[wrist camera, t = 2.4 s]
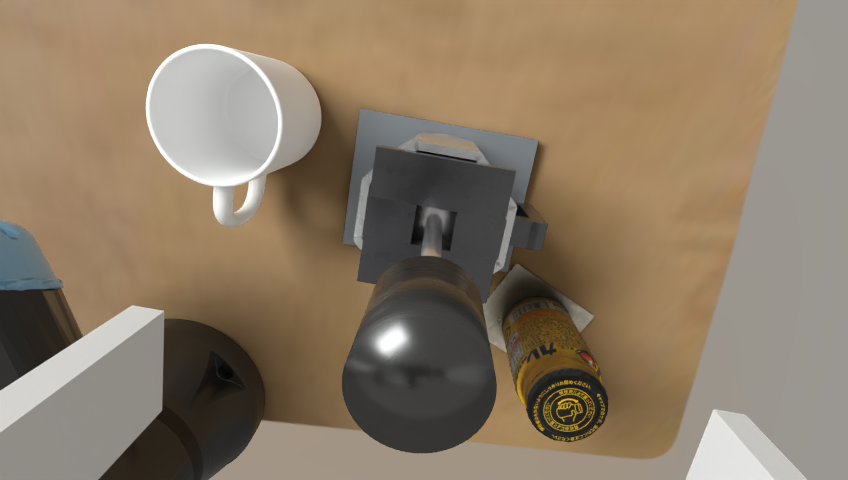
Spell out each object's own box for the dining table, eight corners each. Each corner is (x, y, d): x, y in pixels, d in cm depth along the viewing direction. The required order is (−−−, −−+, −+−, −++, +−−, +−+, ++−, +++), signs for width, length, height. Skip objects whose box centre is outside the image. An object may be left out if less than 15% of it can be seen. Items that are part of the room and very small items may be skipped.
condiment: (541, 375, 44) (575, 472, 32) (465, 325, 43) (473, 407, 31) (594, 315, 42) (650, 395, 31) (516, 261, 41) (543, 324, 30)
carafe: (369, 240, 40) (342, 289, 30) (386, 122, 38) (363, 131, 27) (510, 264, 40) (533, 323, 30) (537, 149, 38) (573, 168, 27)
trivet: (344, 240, 41) (342, 243, 40) (361, 108, 38) (360, 108, 37) (506, 269, 41) (507, 272, 41) (536, 139, 38) (538, 140, 37)
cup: (329, 68, 37) (288, 57, 28) (313, 217, 41) (272, 254, 31) (223, 50, 37) (145, 32, 28) (216, 200, 41) (144, 232, 31)
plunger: (370, 261, 32) (270, 477, 13) (386, 152, 30) (294, 231, 12) (478, 281, 32) (524, 521, 14) (502, 172, 30) (592, 284, 12)
